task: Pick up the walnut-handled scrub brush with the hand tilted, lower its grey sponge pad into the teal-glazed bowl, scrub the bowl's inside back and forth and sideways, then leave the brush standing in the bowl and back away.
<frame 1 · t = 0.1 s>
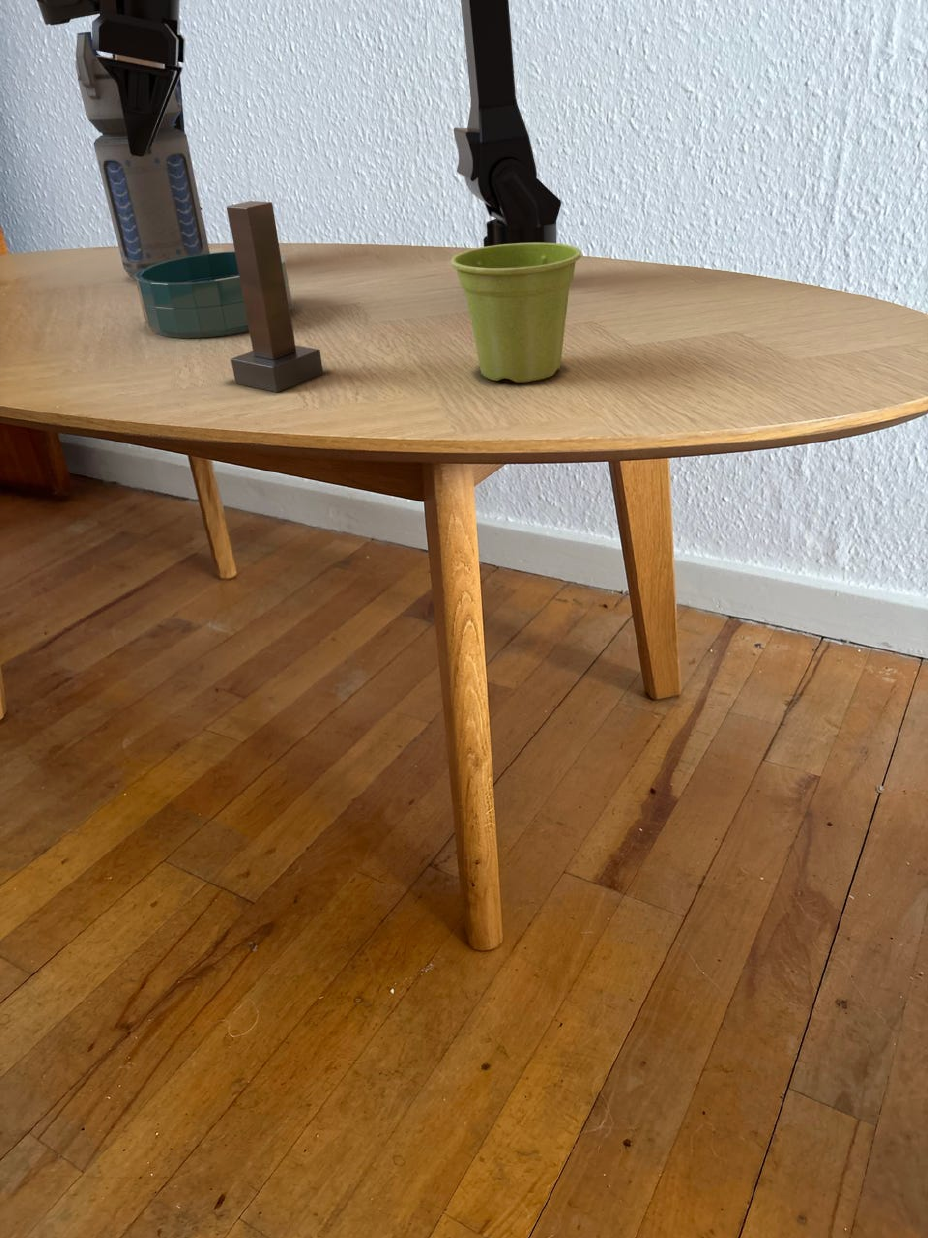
hand: (141, 150, 85), 15 cm above the table, tool pointing down, fingers open, 9 cm apart
bowl: (221, 318, 95), on the table
scrub brush: (279, 378, 77), on the table
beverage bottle: (175, 274, 116), on the table
plant pot: (520, 374, 74), on the table
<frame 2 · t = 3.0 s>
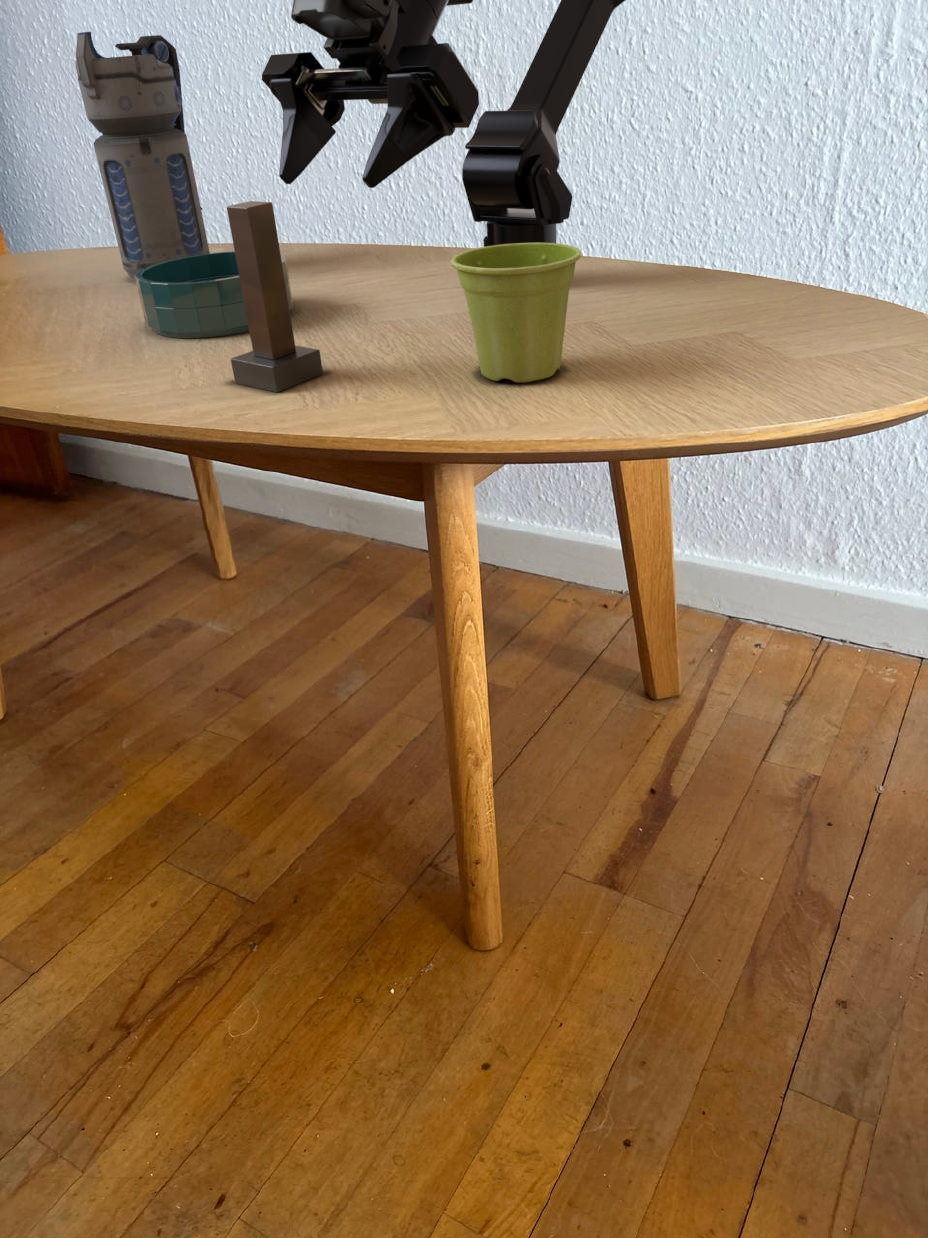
hand: (324, 182, 75), 13 cm above the table, tool tilted 45°, fingers open, 9 cm apart
nothing on the table moved.
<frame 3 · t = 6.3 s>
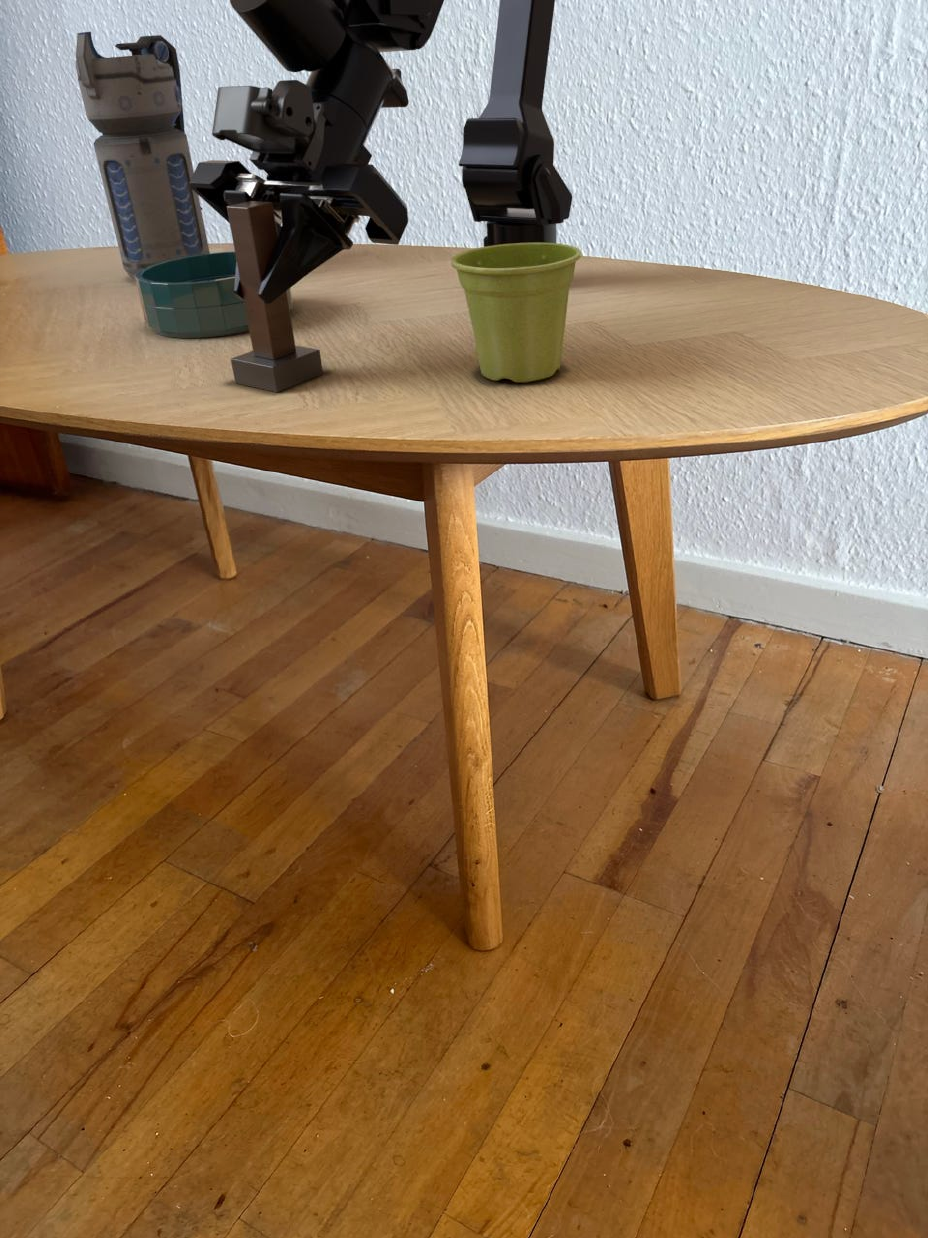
hand: (251, 298, 72), 7 cm above the table, tool tilted 45°, fingers closed on scrub brush, 2 cm apart
scrub brush: (279, 378, 77), on the table, touching gripper
everything else where it was.
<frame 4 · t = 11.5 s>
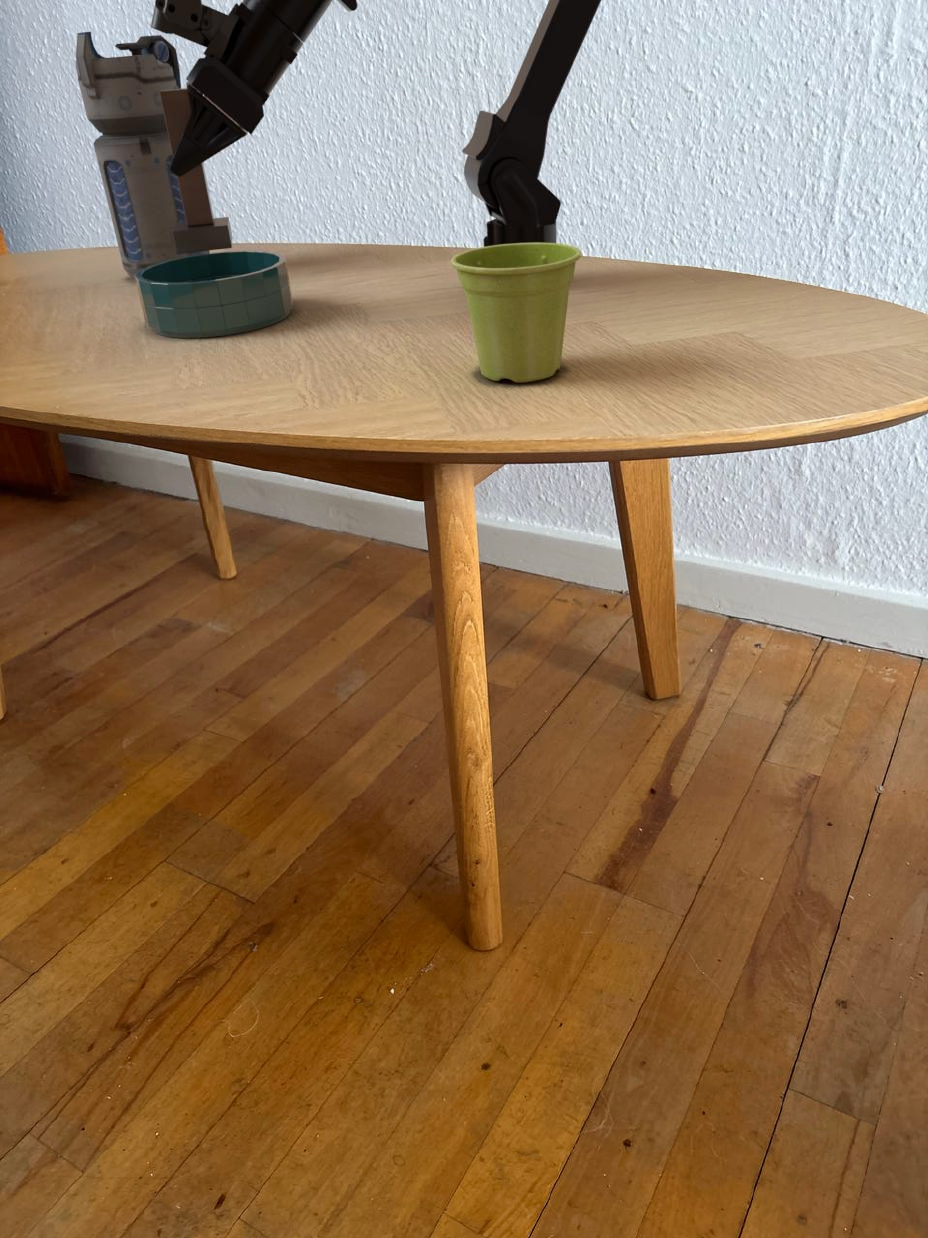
hand: (175, 171, 87), 14 cm above the table, tool tilted 45°, fingers closed on scrub brush, 2 cm apart
scrub brush: (205, 245, 91), point 7 cm above the table, touching gripper
everything else where it was.
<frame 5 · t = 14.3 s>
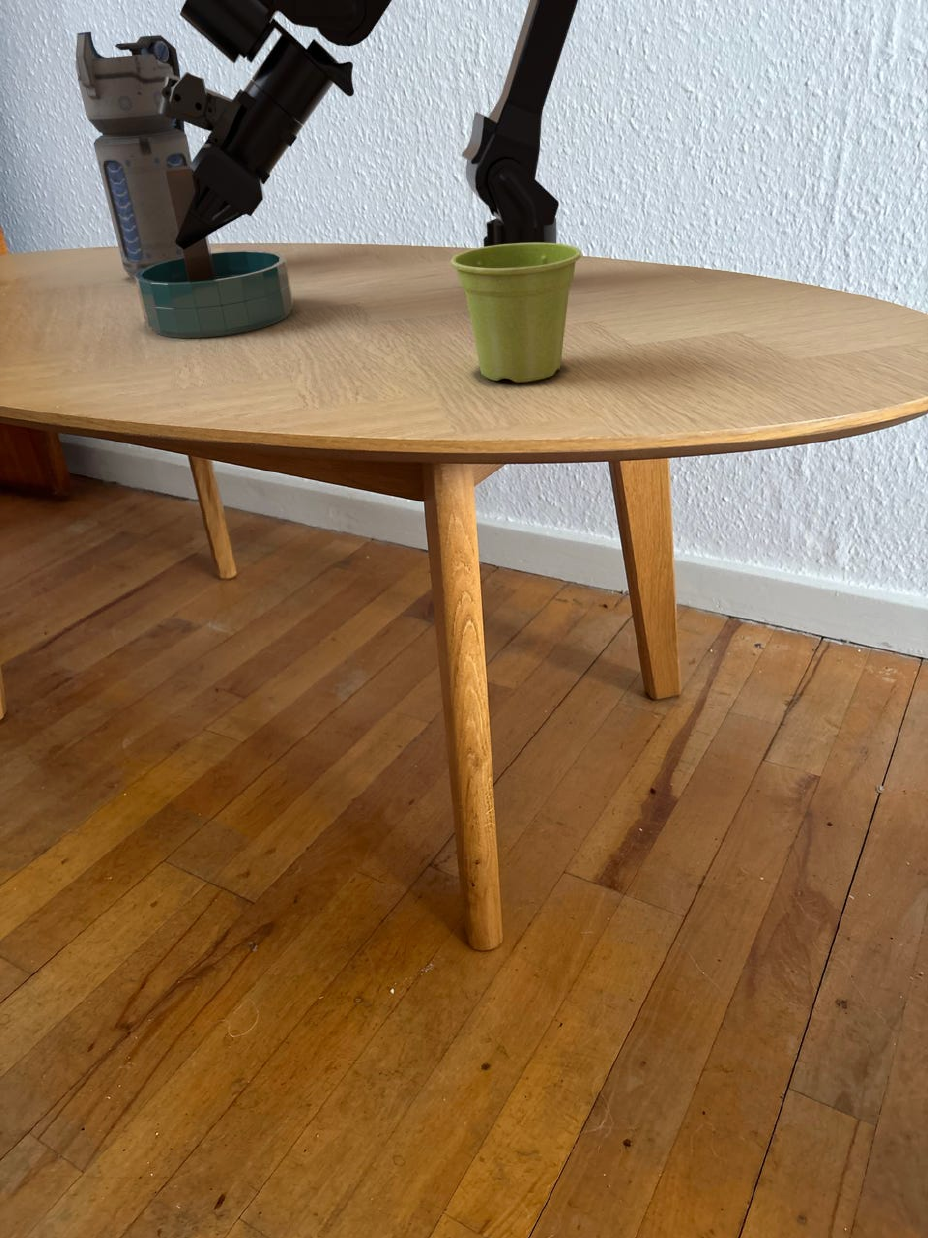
hand: (180, 243, 92), 7 cm above the table, tool tilted 45°, fingers closed on scrub brush, 2 cm apart
scrub brush: (209, 311, 95), point 1 cm above the table, touching gripper
everything else where it was.
when the fingers open (7 cm above the table, at t = 16.8 s): scrub brush stays where it is, resting on bowl.
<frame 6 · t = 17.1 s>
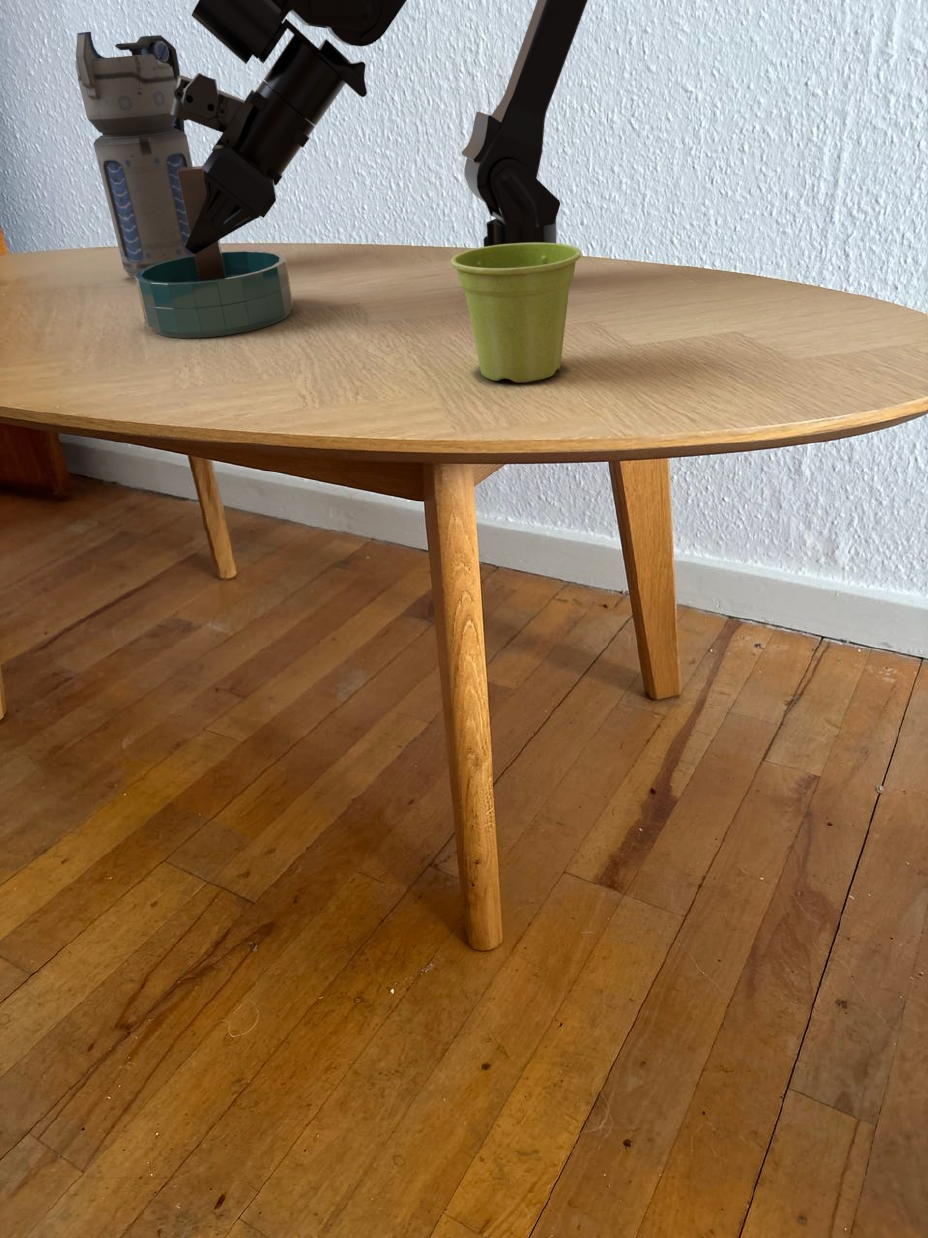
hand: (191, 245, 91), 7 cm above the table, tool tilted 45°, fingers open, 5 cm apart
scrub brush: (220, 312, 94), point 1 cm above the table, touching bowl
everything else where it was.
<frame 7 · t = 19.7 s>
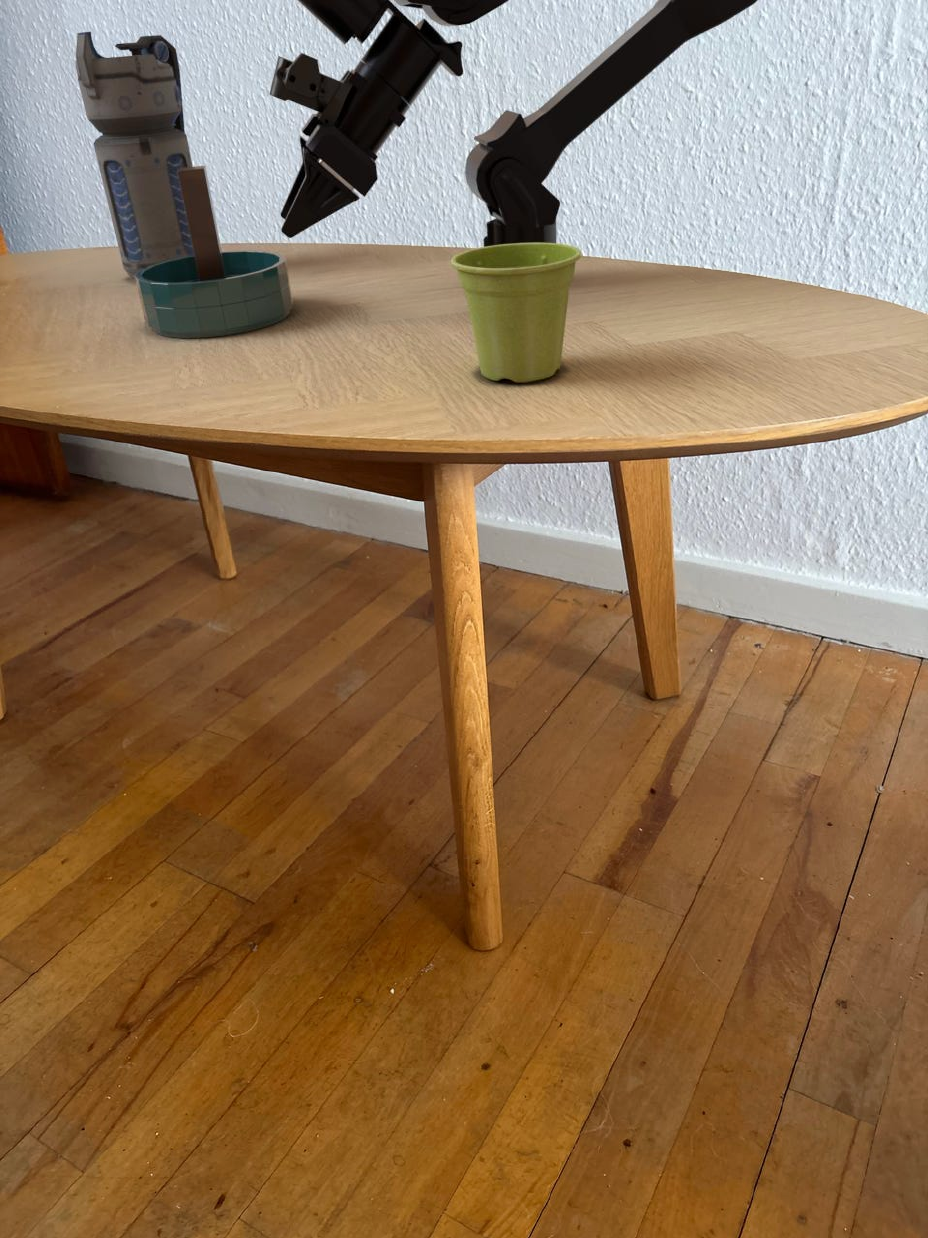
hand: (284, 226, 92), 8 cm above the table, tool tilted 45°, fingers open, 9 cm apart
nothing on the table moved.
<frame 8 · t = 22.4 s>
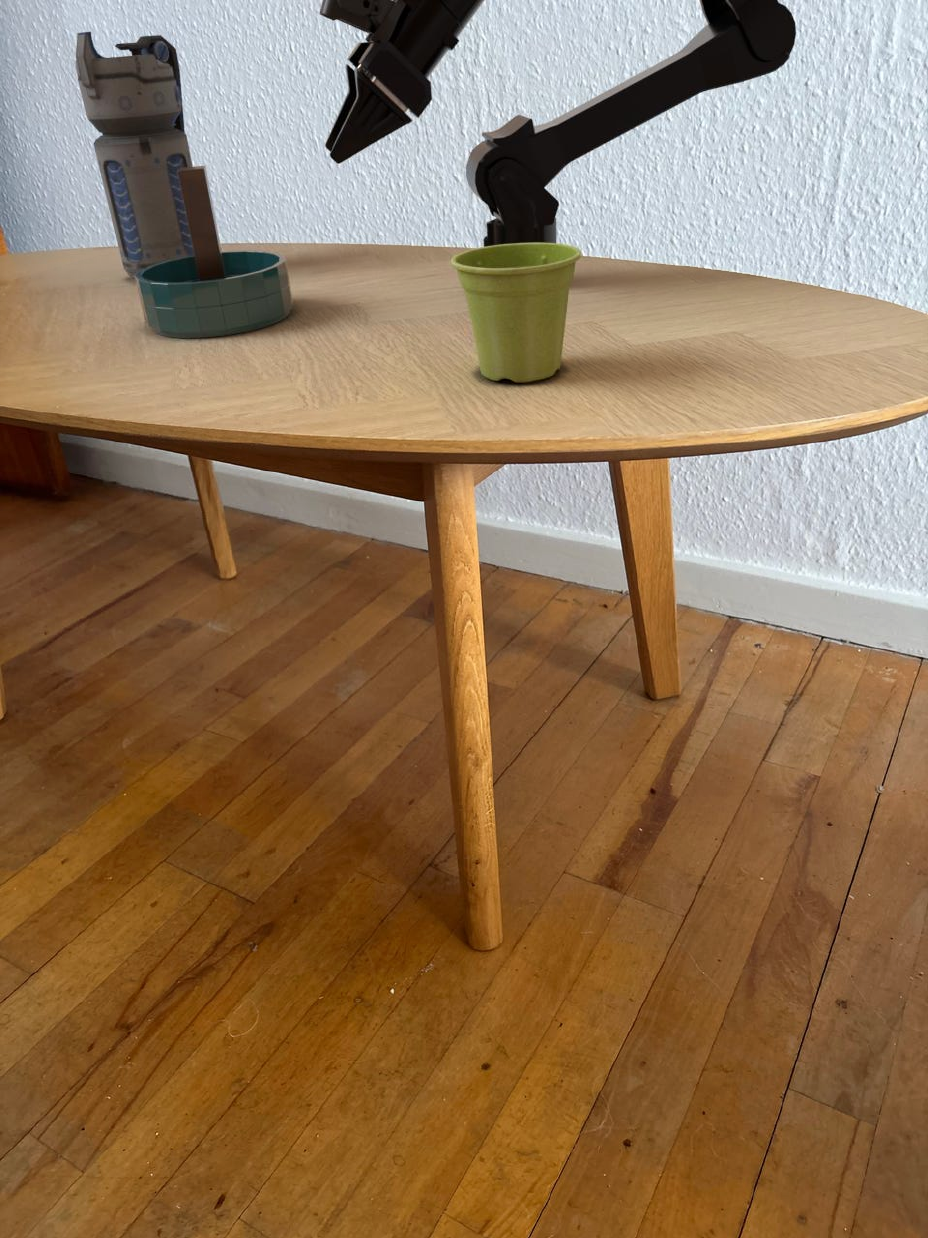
hand: (331, 154, 89), 14 cm above the table, tool tilted 45°, fingers open, 9 cm apart
nothing on the table moved.
at the end: scrub brush inside the target area in the bowl (0.1 cm from its centre), point 0.6 cm above the bowl's base; scrub brush moved 22.8 cm from its start; the gripper is holding nothing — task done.
